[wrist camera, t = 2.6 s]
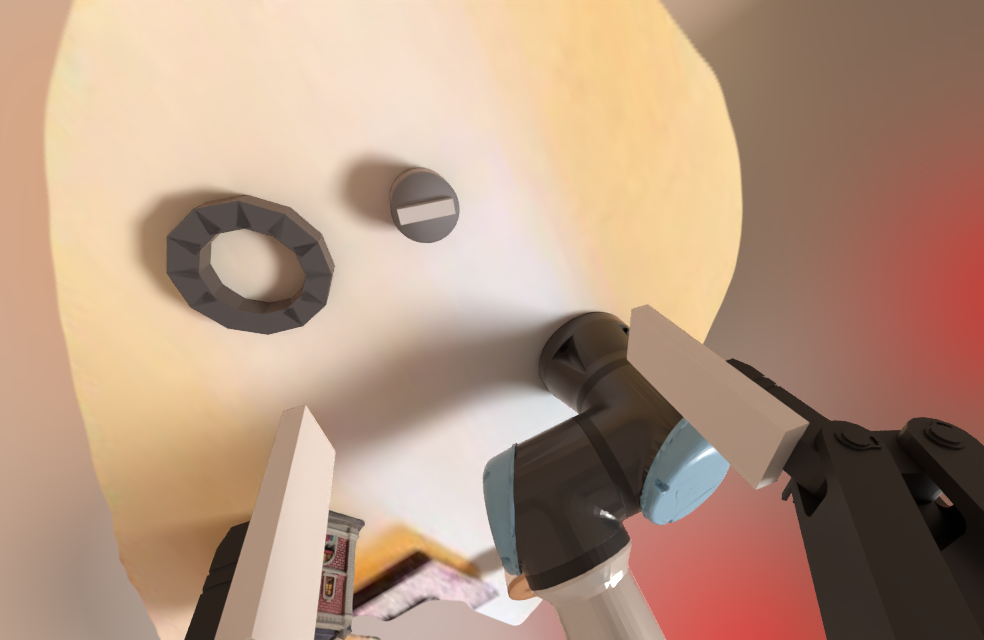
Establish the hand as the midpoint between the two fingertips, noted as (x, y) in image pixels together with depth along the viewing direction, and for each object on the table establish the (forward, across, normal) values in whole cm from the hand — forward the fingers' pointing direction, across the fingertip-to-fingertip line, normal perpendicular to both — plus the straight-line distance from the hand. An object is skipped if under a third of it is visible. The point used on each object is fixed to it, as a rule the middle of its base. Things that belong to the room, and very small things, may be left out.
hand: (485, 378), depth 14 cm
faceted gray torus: (+27, +16, +2) cm, 32 cm away
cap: (+28, -1, -1) cm, 28 cm away
